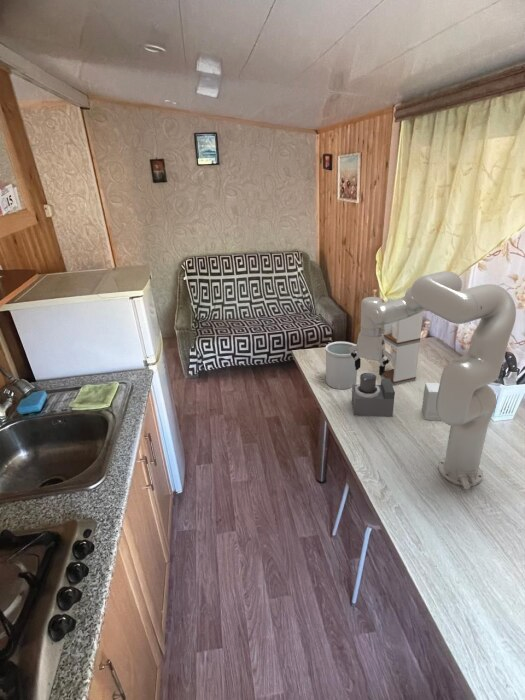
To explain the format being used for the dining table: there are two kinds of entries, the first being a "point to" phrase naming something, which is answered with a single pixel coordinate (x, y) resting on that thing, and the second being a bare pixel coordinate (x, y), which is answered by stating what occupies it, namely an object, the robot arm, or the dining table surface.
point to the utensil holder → (340, 365)
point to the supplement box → (430, 401)
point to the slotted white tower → (403, 348)
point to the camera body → (374, 400)
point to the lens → (367, 383)
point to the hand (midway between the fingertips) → (369, 371)
